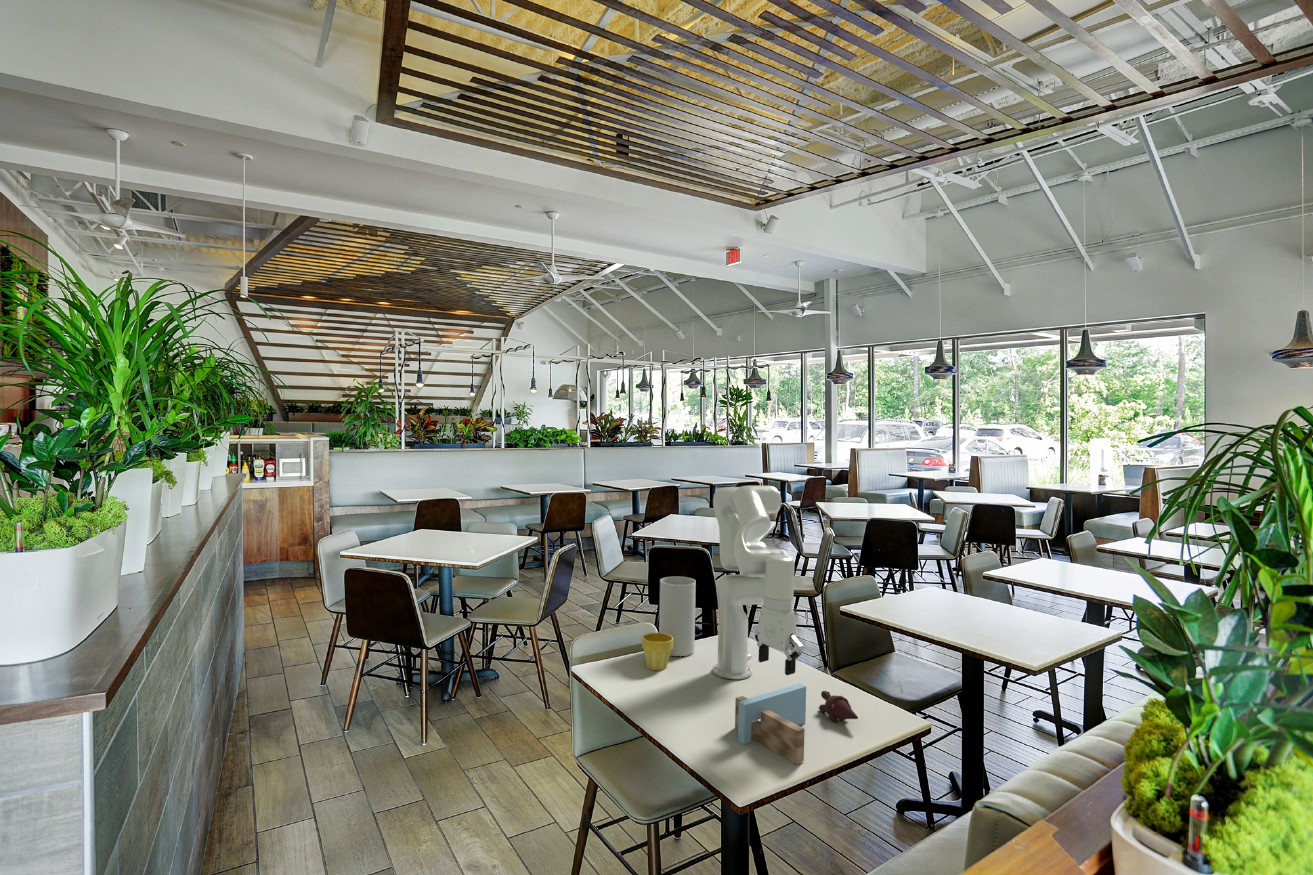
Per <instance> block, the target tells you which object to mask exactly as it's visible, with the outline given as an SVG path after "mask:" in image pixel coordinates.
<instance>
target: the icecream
mask: <svg viewBox="0 0 1313 875" xmlns="http://www.w3.org/2000/svg"><path fill="white" fill-rule="evenodd" d="M820 695H821V698H822V699H823V700H825V703H824V704H820V705H819V706H818V710H819V712H822V713H823V714H824V713H825V714H826V715H828V718H830V719H831V720H832V721H834V722H836V723H840V722H844V721H846V720H858V719H859V717H858V715H857V714H856V713H855V712H854V710H853V709H852V706H851V704H850V703H849V700H848V699H847V698H846V697H844V696H843V695H834V694H833V695H832V694H831V692H829V691H827V690H822V691H821V692H820ZM843 720H844V721H843ZM839 721H840V722H839Z"/></svg>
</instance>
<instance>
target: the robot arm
mask: <svg viewBox="0 0 1313 875" xmlns="http://www.w3.org/2000/svg"><path fill="white" fill-rule="evenodd" d="M712 506H713V511H714V515H715V518H716V521H717V524H718V525H717V526H718V531H719V532H718V534H719V558H720V559H719V560H720V564H721V567H722V568H723V569H724V570H726V571H727V570H728V571H739V572H740V573H741V574H726V575H723V576H721V577H720V578H719V579H718V580H717V582H716V586H715V587H716V588H715V589H716V591H715V592H716V597H717V608H718V610H717V611H718V622H717V624H718V629H717V630H718V631H717V663H715V664H714V665H713V666H712V673H713V674H714V675H715V676H717V677H720V678H722V679H727V680H744V679H747V678H750V677H751V676H752V674H753V670H752V668H751V667H750V666H749V665H748V662H749V661H750V660H751V659H752V654H750V653H748V646H749V645H748V643H749V641H748V640H749V638H748V637H749V635H748V634H749V619H748V615H747V613H746V612H745V611H744V610H743V608H742V606H746V605H754V606H755V605H761V609H760V613H759V617H758V624H757V625H756V626H753V627H752V630H753V633H754V638H755V640H756V645H757V647H758V660H757V661H758V663H764V662H768V661H769V659H770V655H769V654H770V648H772V649H774V650H777V651H779V652H784V655H785V656H786V659H785V662H784V674H785V675H786V676H790V675H793V674H795V673H796V664H797V663H796V662H797V659H798V658H800V656H801V655H802V653H803V651H804V648H805V647H804V645H803V643H802V642H801V641H800V640H799V639H798V638H797V622H796V621H797V620H796V614H795V610H794V593H795V592H794V588H795V560H794V559H793V557H791V556H790V555H789V554H788V552H787V551H785V550H784V549H780V548H768V546H767V544H766V543H765V542H763V541H761V540H757V539H759V538H761V537H763V536H765V535H766V534H767V533H768V532H769V531H770V529H771V526H772V522H771V518H770V516H769V514H771V515H772V514H776V513H778V512H779V511H780V509H781V506H782V497H781V494H780V492H779V490H778V489H777V487H775V486H772V485H742V486H729V487H721V488H719V489H716V491H715V492H714V494H713V498H712Z"/></svg>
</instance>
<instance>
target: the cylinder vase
mask: <svg viewBox="0 0 1313 875" xmlns="http://www.w3.org/2000/svg"><path fill="white" fill-rule="evenodd" d="M696 586H697V584H696V579H694V578H691V577H687V576H666V577H663V578H660V579H659V617H658V621H659V624H658V625H659V626H658V629H659V630H658V633H665V634H669V635H671V636H672V637H673V648H672V650H671V651H670V655H669V657H672V656H680V657H679V658H681V656H684V657H688V656H690V655H692V654H693V653H694V652H695V639H696V638H695V635H696V633H695V632H696V631H695V630H696V629H695V628H696V591H697V590H696Z"/></svg>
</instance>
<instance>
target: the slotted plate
mask: <svg viewBox="0 0 1313 875" xmlns="http://www.w3.org/2000/svg"><path fill="white" fill-rule="evenodd" d="M806 707H807V686H806V685H804V684H802V683H797V684H793V685H790V686H787V687H784V688H783V687H782V688H780V689H775V690H772V691H770V692H766V693H762V694H760V695H756V696H753V697H749V698H748V699H745V700H742V701H739V710H738V729H737V742H740V743H741V744H743V745H747V744H749V743H751V742H752V738H751V722H752V721H755V720H758V721H760V722H761V712H762V711H765V710H770V711H772V712H774V713H776V714H778V715H780V716H782V717H783V718H785V719H787V720H789V721H791V722H793V723H795V724H797V725H799V726H802V725H804V724H806V718H807V717H806V714H807V708H806Z"/></svg>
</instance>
